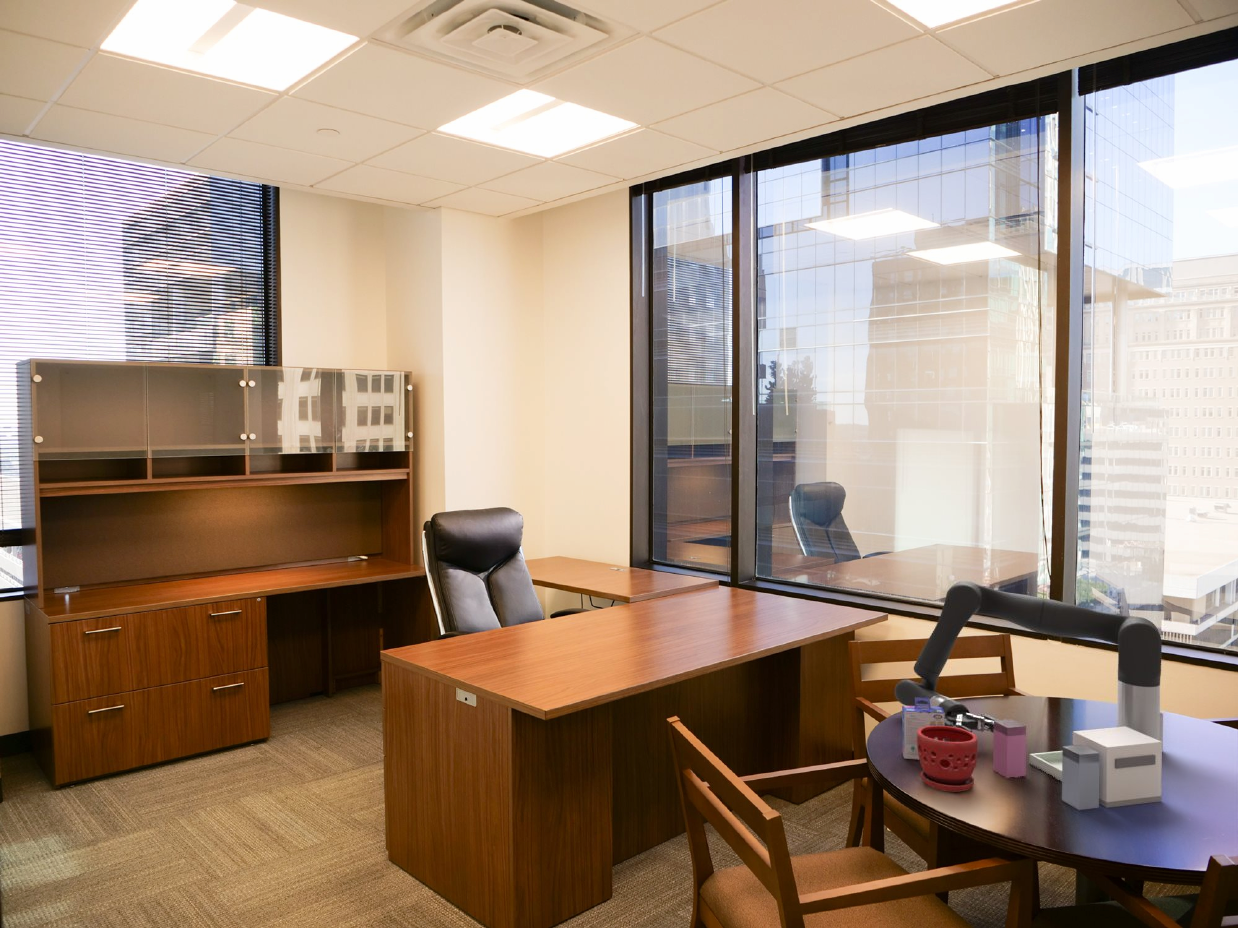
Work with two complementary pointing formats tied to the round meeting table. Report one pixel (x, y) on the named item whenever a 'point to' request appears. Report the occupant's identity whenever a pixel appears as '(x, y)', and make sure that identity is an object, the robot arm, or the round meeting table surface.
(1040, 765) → the parts tray
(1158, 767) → the printer unit
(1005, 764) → the magenta cartridge
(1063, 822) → the round meeting table surface
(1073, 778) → the slate blue cartridge
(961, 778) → the plant pot
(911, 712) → the ink cartridge box
